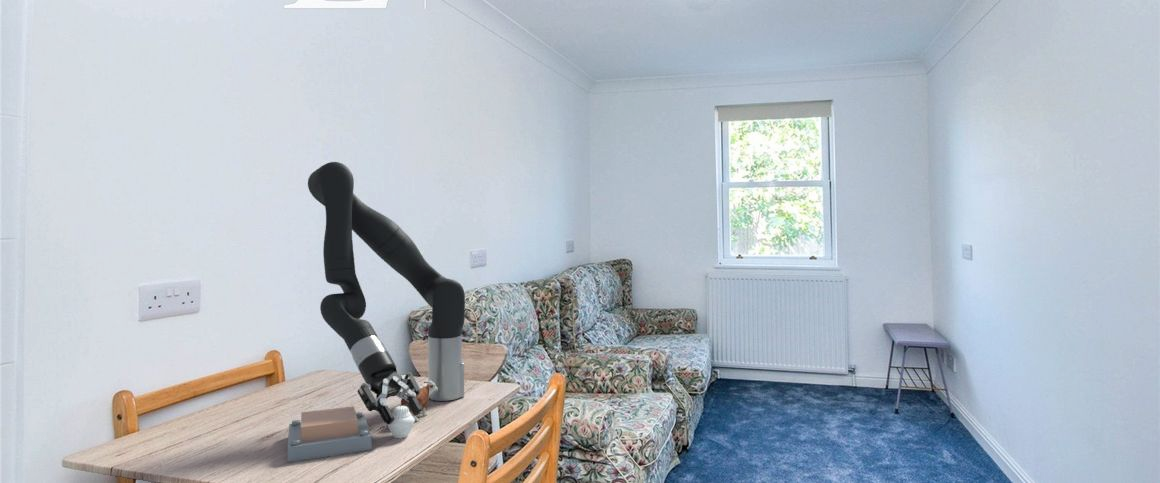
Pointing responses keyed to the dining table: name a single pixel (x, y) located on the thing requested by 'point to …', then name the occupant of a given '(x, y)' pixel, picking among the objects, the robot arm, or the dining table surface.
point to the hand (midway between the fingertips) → (405, 417)
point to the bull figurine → (422, 397)
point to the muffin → (401, 422)
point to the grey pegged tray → (328, 434)
